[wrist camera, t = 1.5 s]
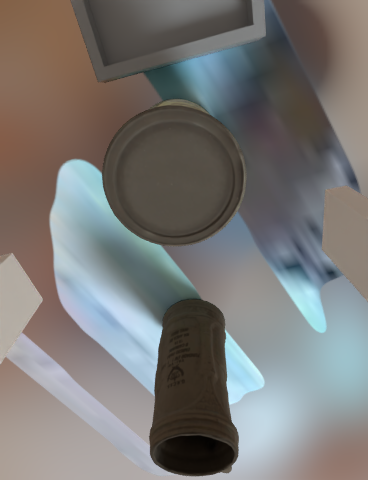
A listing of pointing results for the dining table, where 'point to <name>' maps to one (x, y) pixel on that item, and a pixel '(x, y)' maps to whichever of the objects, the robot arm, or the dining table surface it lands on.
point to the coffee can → (174, 174)
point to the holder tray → (162, 31)
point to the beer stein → (192, 394)
